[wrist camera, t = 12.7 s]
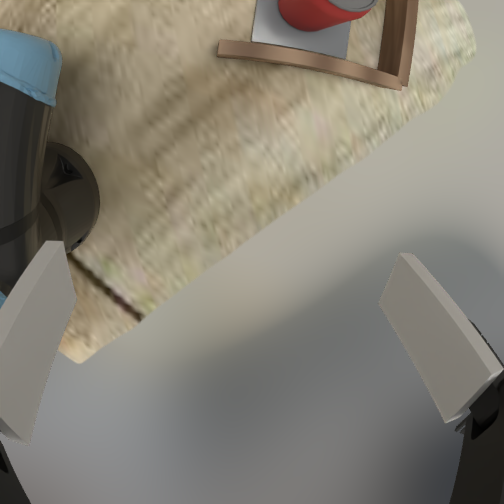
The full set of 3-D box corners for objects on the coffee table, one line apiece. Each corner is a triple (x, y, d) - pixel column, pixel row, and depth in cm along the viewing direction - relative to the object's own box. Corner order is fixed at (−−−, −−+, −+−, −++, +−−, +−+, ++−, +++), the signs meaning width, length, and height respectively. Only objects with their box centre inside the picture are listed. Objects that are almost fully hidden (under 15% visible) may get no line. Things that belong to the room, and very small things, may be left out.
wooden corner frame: (216, 57, 29) (217, 53, 25) (234, -58, 21) (238, -75, 16) (384, 88, 32) (406, 92, 28) (397, -15, 24) (419, -21, 20)
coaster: (250, 41, 28) (251, 41, 28) (262, -39, 22) (263, -40, 22) (343, 59, 30) (345, 59, 30) (353, -17, 24) (355, -18, 24)
